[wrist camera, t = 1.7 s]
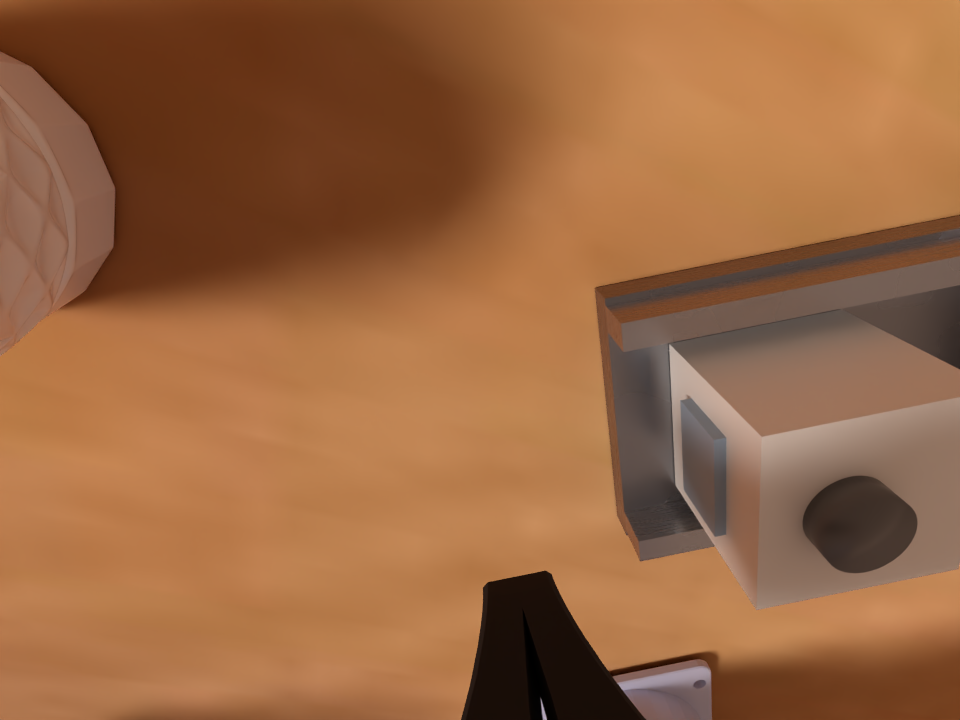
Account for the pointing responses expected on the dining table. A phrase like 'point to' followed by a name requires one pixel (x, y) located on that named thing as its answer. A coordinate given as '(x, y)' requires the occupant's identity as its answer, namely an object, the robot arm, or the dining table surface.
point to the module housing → (743, 304)
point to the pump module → (818, 455)
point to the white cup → (46, 202)
